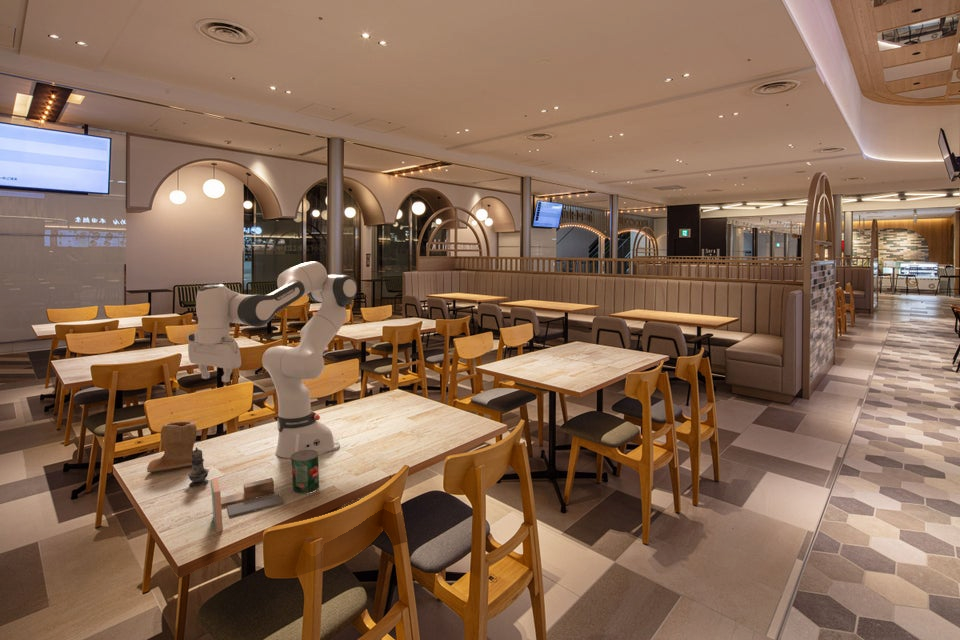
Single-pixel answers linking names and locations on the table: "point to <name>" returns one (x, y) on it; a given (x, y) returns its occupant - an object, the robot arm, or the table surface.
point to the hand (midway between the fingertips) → (215, 379)
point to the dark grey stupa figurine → (198, 470)
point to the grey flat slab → (254, 505)
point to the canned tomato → (305, 471)
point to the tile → (216, 504)
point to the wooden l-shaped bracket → (250, 492)
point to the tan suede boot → (175, 446)
